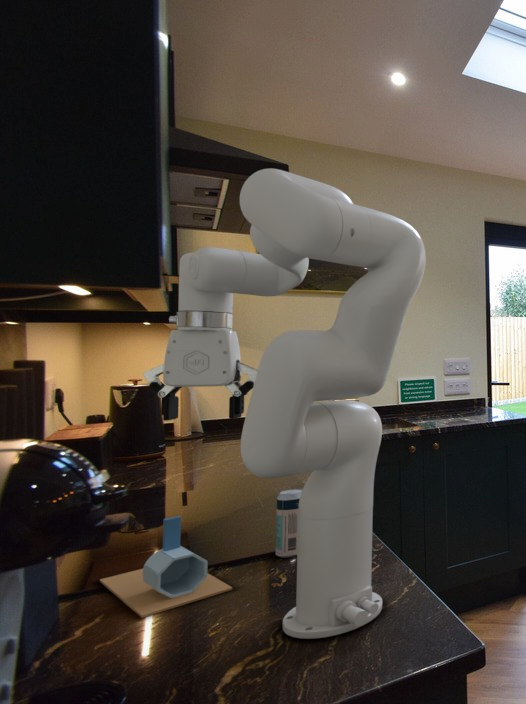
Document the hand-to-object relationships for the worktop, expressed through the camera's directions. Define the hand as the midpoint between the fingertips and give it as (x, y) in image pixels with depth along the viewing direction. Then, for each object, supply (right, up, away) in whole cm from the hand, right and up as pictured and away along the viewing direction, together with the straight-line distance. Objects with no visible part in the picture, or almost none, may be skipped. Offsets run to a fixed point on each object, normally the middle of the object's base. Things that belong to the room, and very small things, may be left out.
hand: (203, 418), depth 93 cm
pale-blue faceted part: (+3, -26, -9) cm, 28 cm away
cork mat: (-1, -27, -7) cm, 28 cm away
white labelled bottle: (+11, -27, +7) cm, 30 cm away
